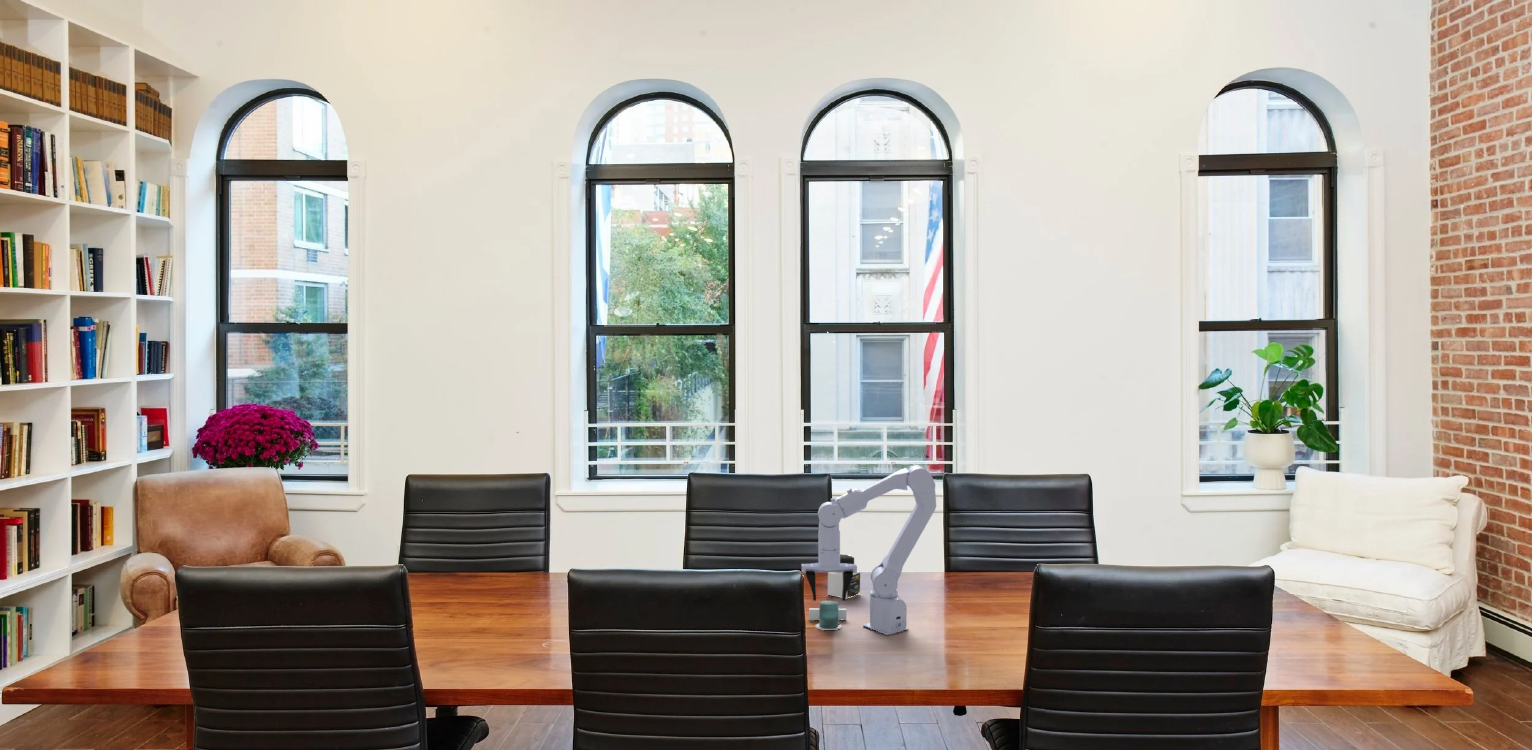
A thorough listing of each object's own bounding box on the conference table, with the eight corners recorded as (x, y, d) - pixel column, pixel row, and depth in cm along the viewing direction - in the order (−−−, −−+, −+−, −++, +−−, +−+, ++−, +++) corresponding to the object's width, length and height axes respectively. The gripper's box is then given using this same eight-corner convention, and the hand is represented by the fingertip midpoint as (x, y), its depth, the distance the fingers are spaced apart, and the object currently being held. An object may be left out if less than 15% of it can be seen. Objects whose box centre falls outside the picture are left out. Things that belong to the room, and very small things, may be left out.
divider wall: (846, 619, 246) (846, 608, 246) (846, 620, 245) (846, 609, 245) (809, 619, 247) (809, 608, 246) (809, 620, 246) (809, 609, 245)
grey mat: (847, 627, 239) (847, 626, 239) (827, 632, 235) (827, 631, 235) (830, 621, 245) (830, 620, 245) (810, 625, 241) (810, 625, 241)
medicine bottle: (847, 600, 266) (847, 559, 265) (827, 595, 270) (827, 555, 270) (860, 594, 271) (860, 554, 271) (840, 590, 276) (840, 551, 275)
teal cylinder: (842, 626, 239) (842, 604, 239) (827, 629, 237) (827, 607, 236) (830, 621, 244) (830, 599, 243) (815, 625, 241) (815, 602, 240)
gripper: (855, 545, 243) (855, 595, 244) (801, 544, 243) (801, 595, 244) (857, 550, 236) (857, 602, 237) (801, 550, 236) (801, 602, 237)
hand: (829, 599), depth 240 cm, fingers open, 7 cm apart
